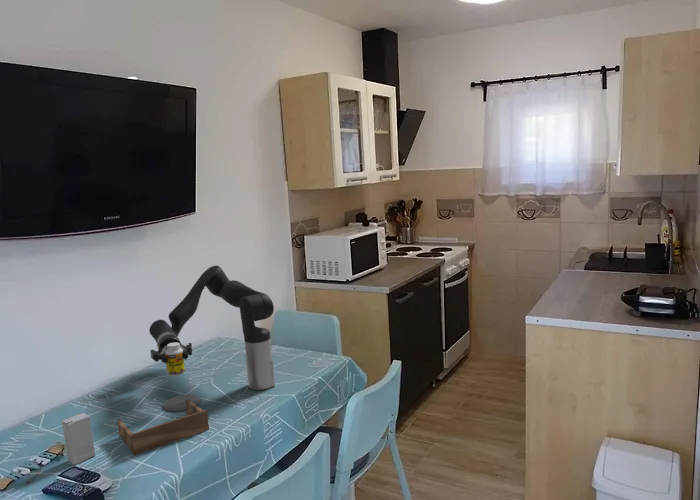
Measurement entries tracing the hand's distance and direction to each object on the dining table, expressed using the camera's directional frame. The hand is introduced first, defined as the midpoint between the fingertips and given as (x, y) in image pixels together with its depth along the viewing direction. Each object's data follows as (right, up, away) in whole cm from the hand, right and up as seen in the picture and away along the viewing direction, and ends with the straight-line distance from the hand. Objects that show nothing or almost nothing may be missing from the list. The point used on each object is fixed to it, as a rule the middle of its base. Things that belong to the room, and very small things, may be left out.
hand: (175, 358), depth 181 cm
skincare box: (-18, -23, -26) cm, 39 cm away
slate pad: (0, -17, +7) cm, 18 cm away
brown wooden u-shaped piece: (+1, -20, -13) cm, 24 cm away
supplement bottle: (-1, -6, +3) cm, 7 cm away
